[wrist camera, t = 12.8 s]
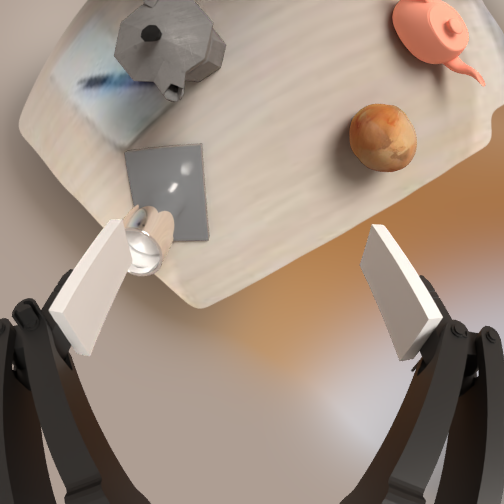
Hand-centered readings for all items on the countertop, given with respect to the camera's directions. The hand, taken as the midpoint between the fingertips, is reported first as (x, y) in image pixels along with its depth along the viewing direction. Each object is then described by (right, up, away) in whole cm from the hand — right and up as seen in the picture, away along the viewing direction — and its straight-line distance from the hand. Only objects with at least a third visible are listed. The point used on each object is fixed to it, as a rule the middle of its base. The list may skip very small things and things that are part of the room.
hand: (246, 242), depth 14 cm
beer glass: (-13, +8, +27) cm, 31 cm away
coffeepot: (-8, +28, +15) cm, 32 cm away
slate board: (-13, +9, +28) cm, 32 cm away
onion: (+18, +18, +22) cm, 34 cm away
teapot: (+27, +34, +11) cm, 45 cm away
